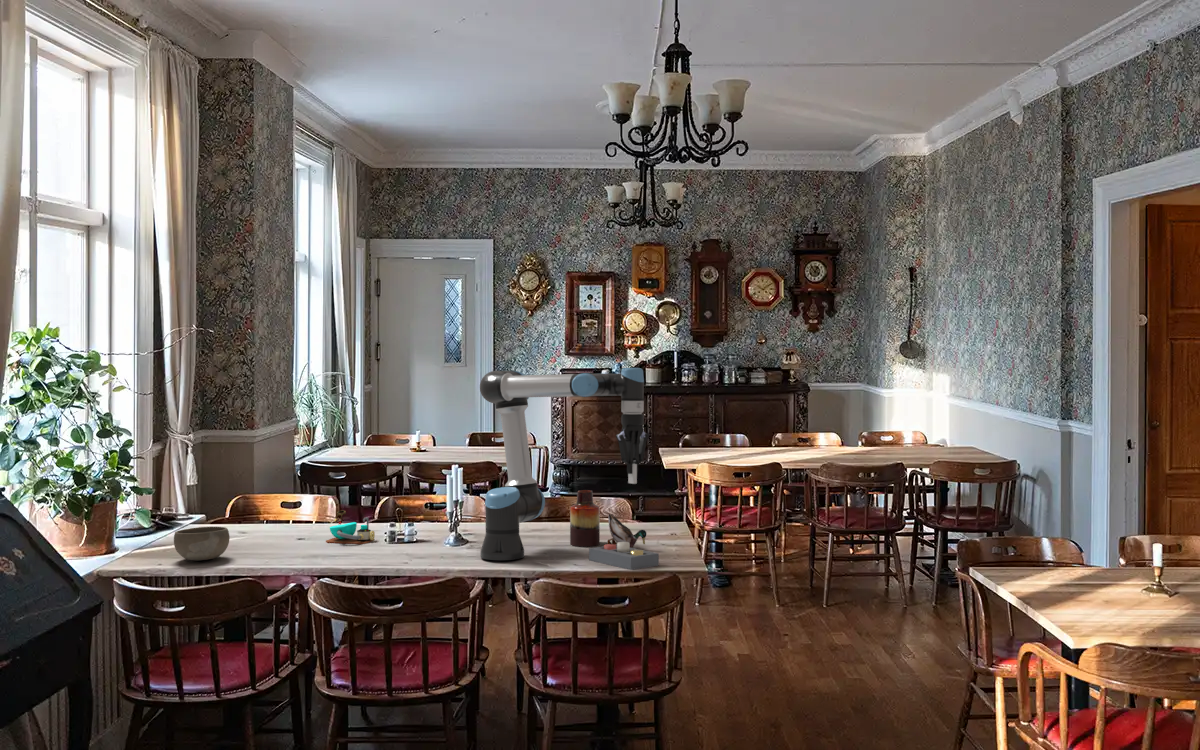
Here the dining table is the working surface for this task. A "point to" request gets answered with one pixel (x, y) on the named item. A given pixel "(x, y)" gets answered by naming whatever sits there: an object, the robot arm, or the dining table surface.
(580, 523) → the vase
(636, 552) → the gold rounded piece
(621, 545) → the ivory button
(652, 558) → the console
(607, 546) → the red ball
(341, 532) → the contraption on wooden base
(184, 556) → the bowl
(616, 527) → the decorative duck model
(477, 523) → the dining table surface
